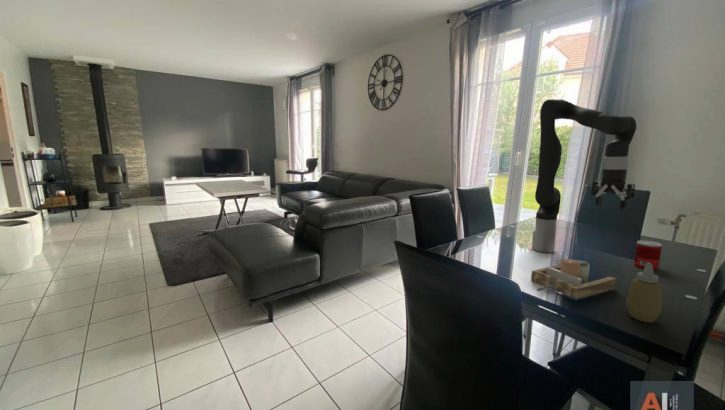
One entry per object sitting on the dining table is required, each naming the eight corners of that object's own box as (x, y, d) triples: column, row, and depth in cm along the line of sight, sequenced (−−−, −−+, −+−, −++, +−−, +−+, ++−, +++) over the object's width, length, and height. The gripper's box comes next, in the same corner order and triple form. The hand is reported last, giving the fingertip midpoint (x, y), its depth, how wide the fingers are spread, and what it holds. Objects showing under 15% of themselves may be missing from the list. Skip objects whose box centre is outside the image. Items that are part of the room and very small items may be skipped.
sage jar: (567, 281, 120) (569, 260, 118) (576, 279, 122) (578, 258, 120) (581, 287, 115) (583, 265, 113) (591, 284, 116) (593, 263, 115)
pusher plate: (522, 286, 117) (523, 272, 115) (547, 280, 121) (548, 266, 120) (554, 301, 105) (555, 285, 103) (580, 294, 109) (581, 279, 108)
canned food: (663, 270, 126) (667, 245, 124) (641, 269, 128) (644, 245, 126) (650, 264, 134) (653, 240, 132) (629, 263, 135) (632, 240, 133)
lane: (531, 281, 121) (531, 269, 120) (567, 272, 128) (568, 261, 127) (575, 301, 105) (577, 288, 104) (614, 289, 112) (616, 277, 111)
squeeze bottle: (617, 312, 97) (624, 259, 94) (640, 310, 98) (648, 258, 95) (642, 326, 89) (651, 269, 86) (667, 324, 90) (676, 267, 87)
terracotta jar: (555, 284, 118) (557, 260, 116) (565, 281, 120) (568, 257, 118) (571, 290, 112) (573, 265, 111) (581, 287, 115) (584, 262, 113)
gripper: (642, 168, 114) (636, 209, 117) (601, 166, 127) (597, 204, 130) (629, 169, 111) (624, 211, 114) (589, 167, 124) (585, 205, 127)
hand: (610, 207), depth 122 cm, fingers open, 8 cm apart
